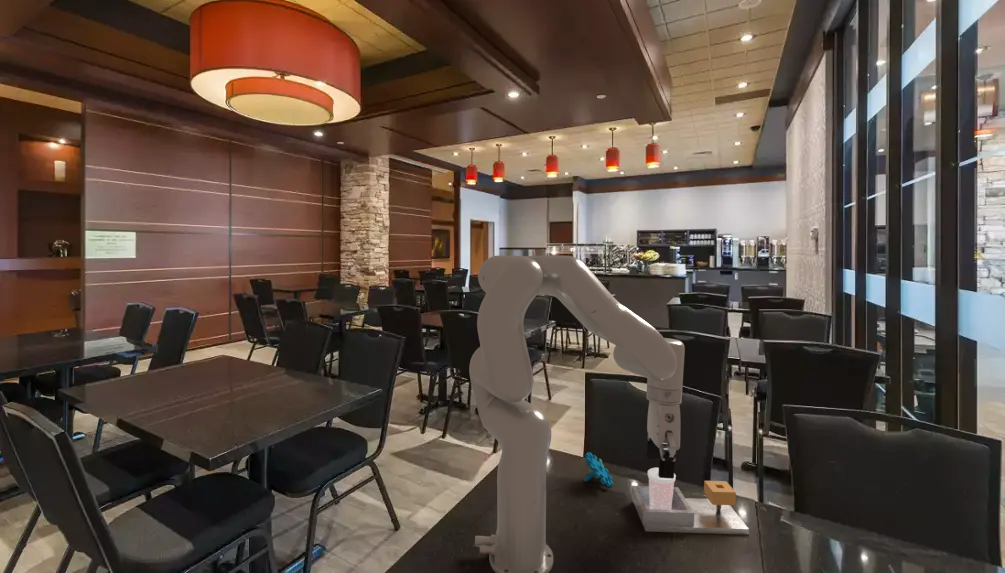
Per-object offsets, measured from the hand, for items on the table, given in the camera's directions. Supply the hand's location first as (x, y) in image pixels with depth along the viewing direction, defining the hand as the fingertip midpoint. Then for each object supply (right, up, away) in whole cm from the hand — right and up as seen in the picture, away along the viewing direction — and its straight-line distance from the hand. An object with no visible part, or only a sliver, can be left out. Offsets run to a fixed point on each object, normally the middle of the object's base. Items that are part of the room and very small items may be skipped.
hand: (659, 467), depth 106 cm
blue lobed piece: (-10, -11, +17) cm, 23 cm away
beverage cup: (+1, -11, +1) cm, 11 cm away
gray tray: (+7, -12, +1) cm, 14 cm away
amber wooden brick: (+14, -7, 0) cm, 16 cm away
